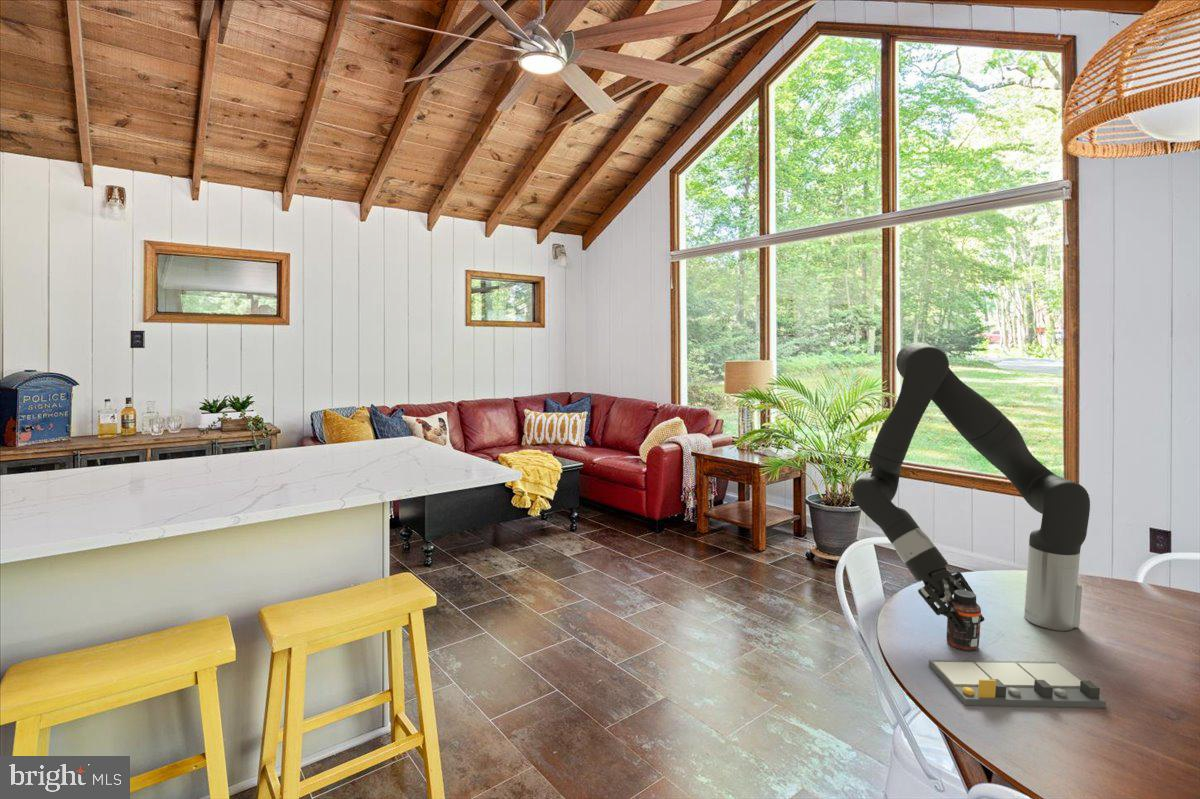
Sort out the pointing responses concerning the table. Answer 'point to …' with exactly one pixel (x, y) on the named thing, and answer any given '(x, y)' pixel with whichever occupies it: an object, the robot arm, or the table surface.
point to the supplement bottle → (971, 616)
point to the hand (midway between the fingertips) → (972, 626)
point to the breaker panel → (1016, 684)
